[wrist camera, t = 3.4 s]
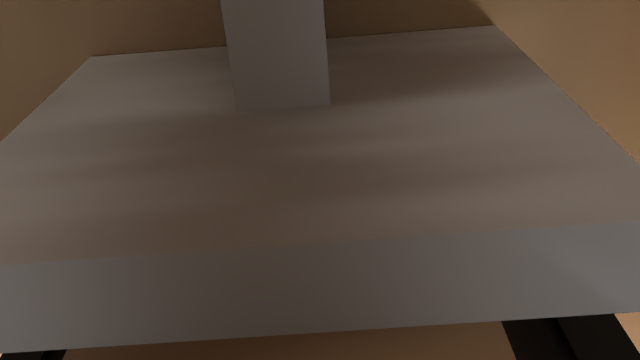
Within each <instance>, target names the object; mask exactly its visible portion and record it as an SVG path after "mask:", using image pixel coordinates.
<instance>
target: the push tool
mask: <svg viewBox="0 0 640 360" xmlns="http://www.w3.org/2000/svg"><path fill="white" fill-rule="evenodd" d="M220 5H221V11H222V18H223V24H224V31H225V37H226V43H227V46H222V47H209V48H196V49H183V50H171V51H158V52H145V53H132V54H120V55H107V56H94V57H89V58H88V59H87V60H86V61H85V62H84V63H83V64H82V65H81V66H80V67H79V68H78V69H77V70H76V71H75V72H74V73H73V74H71V75H70V76H69V77H68V78H67V79H66V80H65V81H64V82H63V83H62V84H61V85H60V86H59V87H58V88H57V89H56V90H55V91H54V92H52V93H51V94H50V95H49V96H48V97H47V98H46V99H45V100H44V101H43V102H42V103H41V104H40V105H39V106H38V107H37V108H36V109H35V110H33V111H32V112H31V113H30V114H29V115H28V116H27V117H26V118H25V119H24V120H23V121H22V122H21V123H20V124H19V125H18V126H17V127H16V128H15V129H13V130H12V131H11V132H10V133H9V134H8V135H7V136H6V137H5V138H4V139H3V140H2V141H1V142H0V353H16V352H31V351H46V350H62V349H67V351H66V353H65V355H64V357H63V359H62V360H516V358H515V355H514V353H513V350H512V348H511V345H510V343H509V340H508V338H507V335H506V333H505V330H504V328H503V325H502V323H501V321H506V320H521V319H537V318H552V317H567V316H583V315H598V314H613V313H629V312H640V165H639V164H638V163H637V162H636V161H635V160H634V159H633V158H632V157H631V156H630V155H629V154H628V153H627V152H626V151H625V150H624V149H623V148H622V147H621V146H620V145H619V144H618V143H617V142H615V141H614V140H613V139H612V138H611V137H610V136H609V135H608V134H607V133H606V132H605V131H604V130H603V129H602V128H601V127H600V126H599V125H598V124H597V123H596V122H595V121H594V120H593V119H592V118H591V117H590V116H589V115H588V114H587V113H586V112H585V111H583V110H582V109H581V108H580V107H579V106H578V105H577V104H576V103H575V102H574V101H573V100H572V99H571V98H570V97H569V96H568V95H567V94H566V93H565V92H564V91H563V90H562V89H561V88H560V87H559V86H558V85H557V84H556V83H555V82H554V81H553V80H551V79H550V78H549V77H548V76H547V75H546V74H545V73H544V72H543V71H542V70H541V69H540V68H539V67H538V66H537V65H536V64H535V63H534V62H533V61H532V60H531V59H530V58H529V57H528V56H527V55H526V54H525V53H524V52H523V51H522V50H521V49H519V48H518V47H517V46H516V45H515V44H514V43H513V42H512V41H511V40H510V39H509V38H508V37H507V36H506V35H505V34H504V33H503V32H502V31H501V30H500V29H499V28H498V27H497V26H496V25H490V26H477V27H464V28H452V29H439V30H426V31H413V32H401V33H388V34H375V35H362V36H349V37H337V38H326V33H325V19H324V5H323V0H220Z"/></svg>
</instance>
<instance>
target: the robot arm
mask: <svg viewBox="0 0 640 360" xmlns="http://www.w3.org/2000/svg"><path fill="white" fill-rule="evenodd" d="M501 323H502V325H503V328H504V330H505V333H506V335H507V338H508V340H509V343H510V345H511V348H512V350H513V353H514V355H515V358H516V360H640V353H639V352H638V350H637V349H636V347H635V346H634V344H633V343H632V341H631V340H630V338H629V336H628V335H627V333H626V332H625V330H624V329H623V327H622V326H621V324H620V323H619V321H618V320H617V318H616V316H615V315H614V313H613V314H598V315H583V316H567V317H552V318H537V319H521V320H506V321H501ZM66 351H67V349H62V350H46V351H31V352H16V353H3V354H2V356H1V357H0V360H62V359H63V357H64V355H65V353H66Z"/></svg>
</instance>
